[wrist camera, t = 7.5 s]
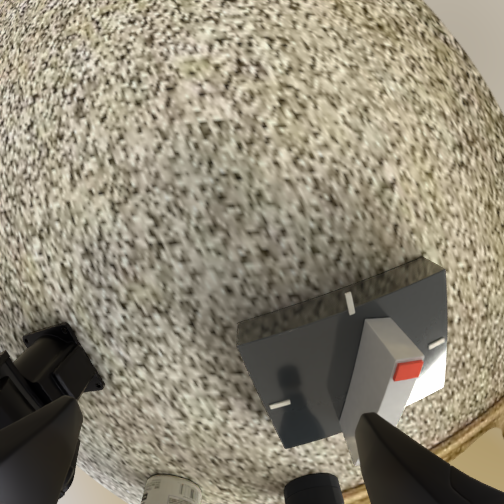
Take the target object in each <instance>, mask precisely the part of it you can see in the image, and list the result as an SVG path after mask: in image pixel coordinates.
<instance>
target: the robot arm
mask: <svg viewBox="0 0 504 504" xmlns="http://www.w3.org/2000/svg"><path fill="white" fill-rule="evenodd" d="M65 329H66V330H65ZM23 341H24V343H25V345H26V347H27V348H28V349H27V350H26V351H24V352H23V353H22V354H21V355H20V356H19V357H18V358H17V359H16V360H15V361H14V362H12V360H11V359H10V358H9V357H10V356H9V354H8V353H7V351H6V350H5V351H3V352H1V353H0V504H57V502H58V499H60V498H61V497H63V495H64V494H65V492H66V491H67V490H68V489H69V487H70V486H71V484H72V481H73V478H74V474H75V468H76V462H77V456H78V451H79V445H80V440H79V439H78V437H79V433H80V429H81V426H82V422H83V415H82V412H81V410H80V407H79V405H78V402H77V401H78V399H79V398H80V396H81V395H82V393H83V392H89V391H97V390H102V389H103V388H104V386H105V383H104V381H103V380H102V378H101V377H100V375H99V374H98V372H97V371H96V369H95V367H94V366H93V364H92V363H91V361H90V359H89V358H88V356H87V355H86V353H85V351H84V349H83V348H82V346H81V344H80V343H79V341H78V339H77V337H76V336H75V334H74V332H73V330H72V328H71V327H70V325H69V324H68V323H66V322H65V323H61V324H57V325H54V326H51V327H48V328H44V329H41V330H38V331H35V332H32V333H28V334H26V335H25V336H23ZM99 384H100V385H99ZM355 440H356V445H357V450H358V456H359V461H360V467H361V472H362V476H363V480H364V483H365V486H366V489H367V492H368V496H369V499H370V502H371V504H504V492H502V491H500V490H497V489H495V488H493V487H490V486H488V485H486V484H484V483H481V482H480V481H478V480H476V479H474V478H472V477H469V476H468V475H466V474H465V473H463V472H461V471H459V470H458V469H456V468H455V467H454V466H450V464H449V463H447V462H446V461H444V460H443V459H441V458H440V457H438V456H437V455H435V454H434V453H432V452H431V451H429V450H428V449H426V448H425V447H423V446H422V445H420V444H419V443H418V442H416V441H415V440H413V439H412V438H410V437H409V436H408V435H406V434H405V433H403V432H402V431H400V430H399V429H398V428H396V427H395V426H393V425H392V424H391V423H389V422H388V421H387V420H385V419H384V418H382V417H381V416H380V415H378V414H377V413H375V412H368V413H363V414H362V415H361V416H360V419H359V422H358V424H357V427H356V429H355Z"/></svg>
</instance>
